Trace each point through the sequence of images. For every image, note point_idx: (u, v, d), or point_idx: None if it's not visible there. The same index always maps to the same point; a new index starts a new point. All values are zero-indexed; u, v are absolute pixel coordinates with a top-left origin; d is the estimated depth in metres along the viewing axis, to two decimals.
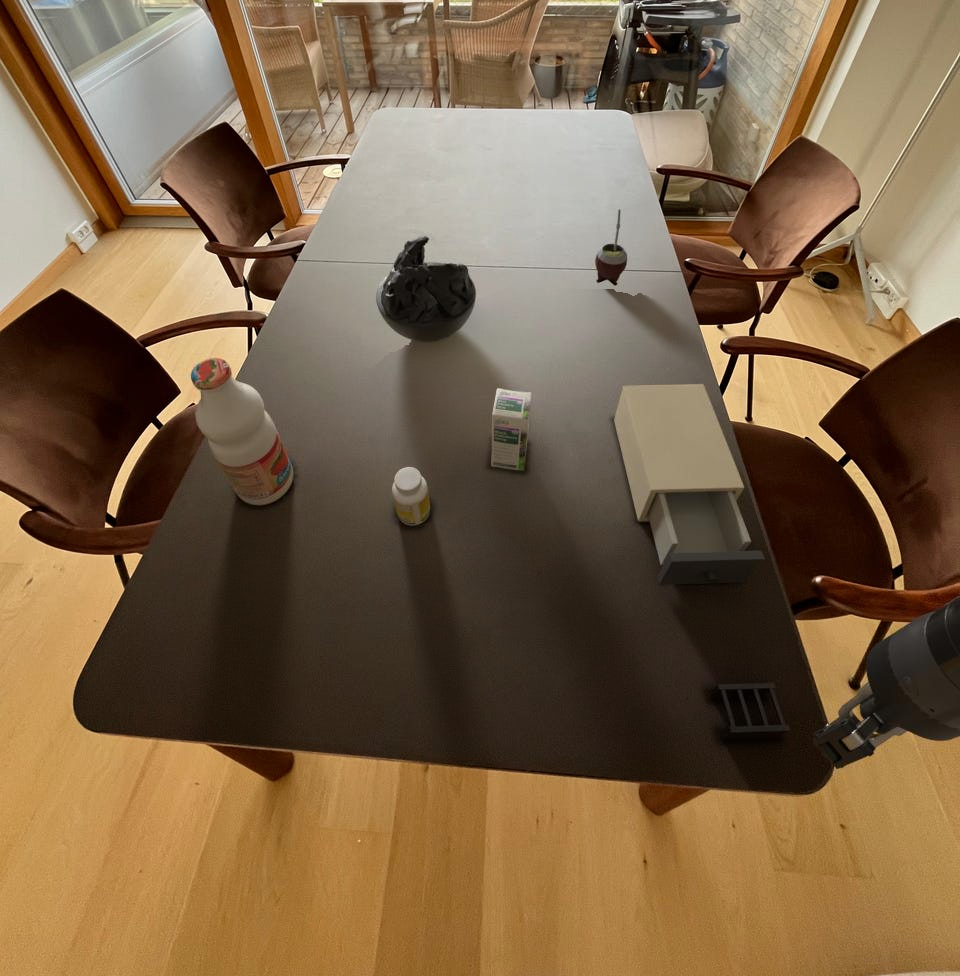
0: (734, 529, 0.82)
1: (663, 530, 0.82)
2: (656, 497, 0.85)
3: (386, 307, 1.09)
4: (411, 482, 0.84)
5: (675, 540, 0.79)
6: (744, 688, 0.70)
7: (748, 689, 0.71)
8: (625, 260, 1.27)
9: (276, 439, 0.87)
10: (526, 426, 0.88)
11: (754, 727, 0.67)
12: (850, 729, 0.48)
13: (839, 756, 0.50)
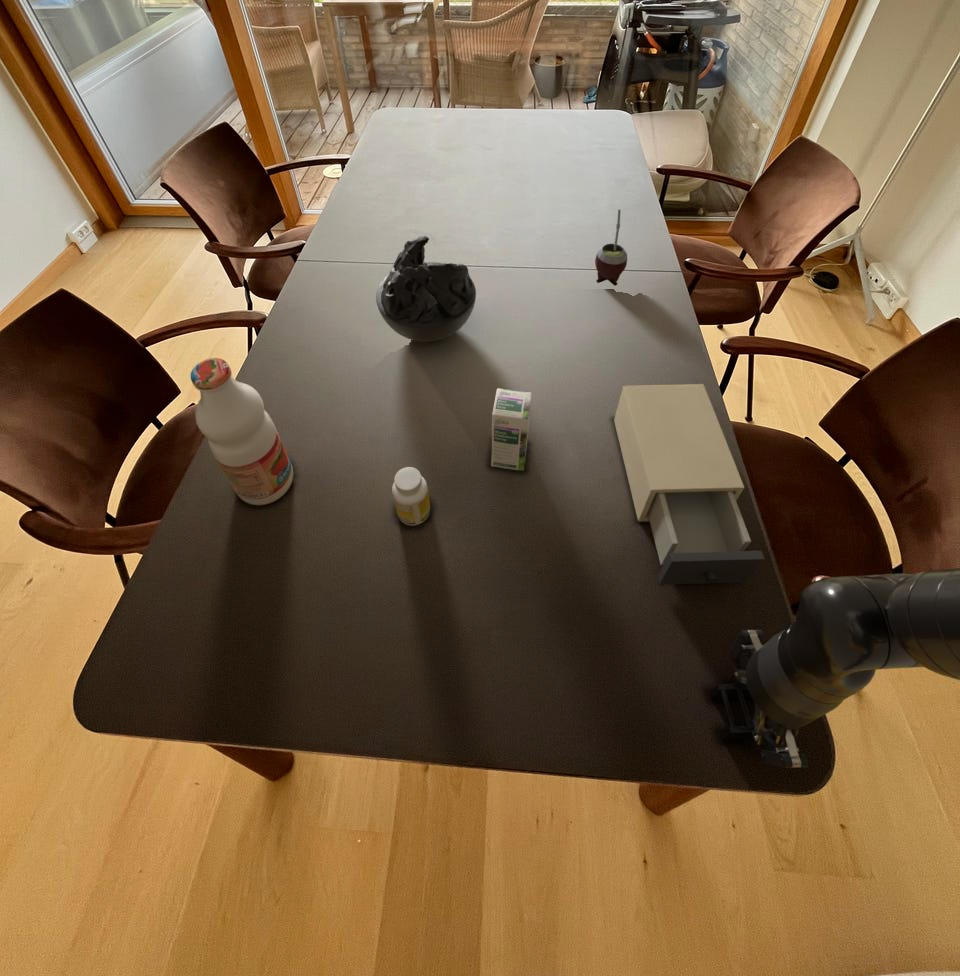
0: (734, 529, 0.82)
1: (663, 530, 0.82)
2: (656, 497, 0.85)
3: (386, 307, 1.09)
4: (411, 482, 0.84)
5: (675, 540, 0.79)
6: (744, 688, 0.70)
7: None
8: (625, 260, 1.27)
9: (276, 439, 0.87)
10: (526, 426, 0.88)
11: (754, 727, 0.67)
12: (790, 764, 0.60)
13: None
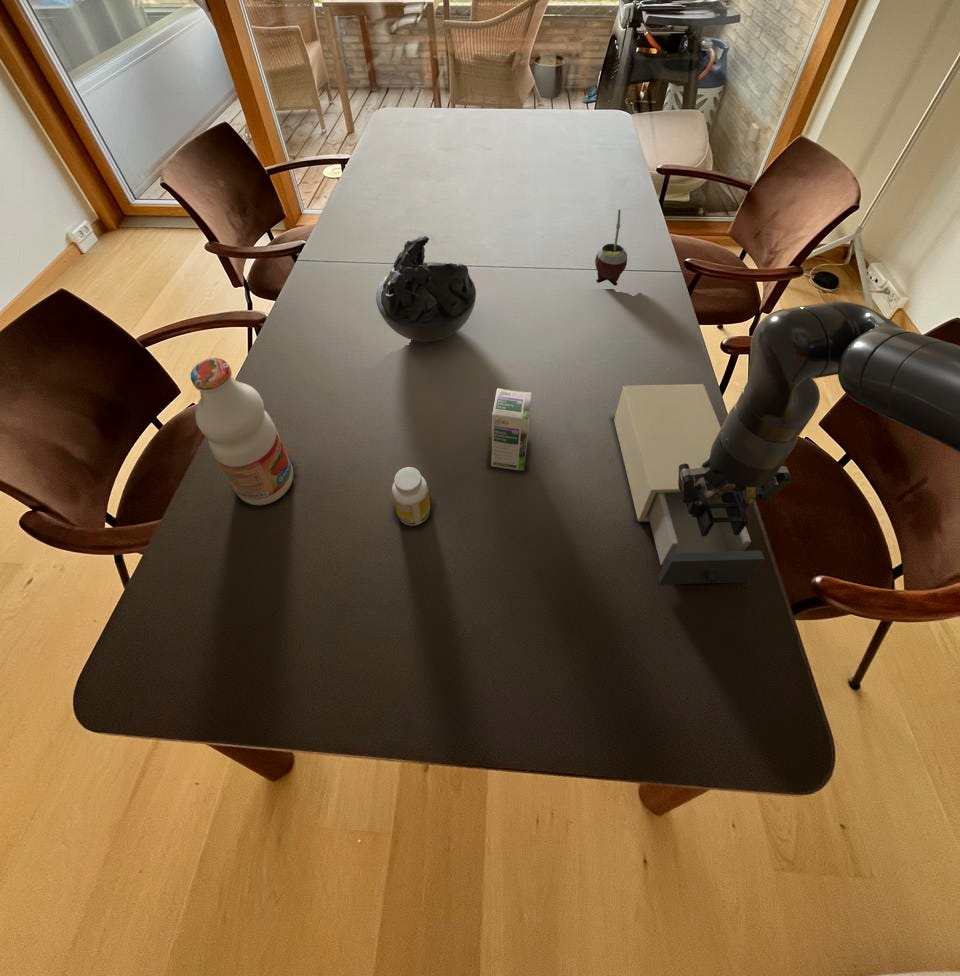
0: None
1: (663, 530, 0.82)
2: (656, 497, 0.85)
3: (386, 307, 1.09)
4: (411, 482, 0.84)
5: (675, 540, 0.79)
6: None
7: None
8: (625, 260, 1.27)
9: (276, 439, 0.87)
10: (526, 426, 0.88)
11: (737, 501, 0.75)
12: None
13: None
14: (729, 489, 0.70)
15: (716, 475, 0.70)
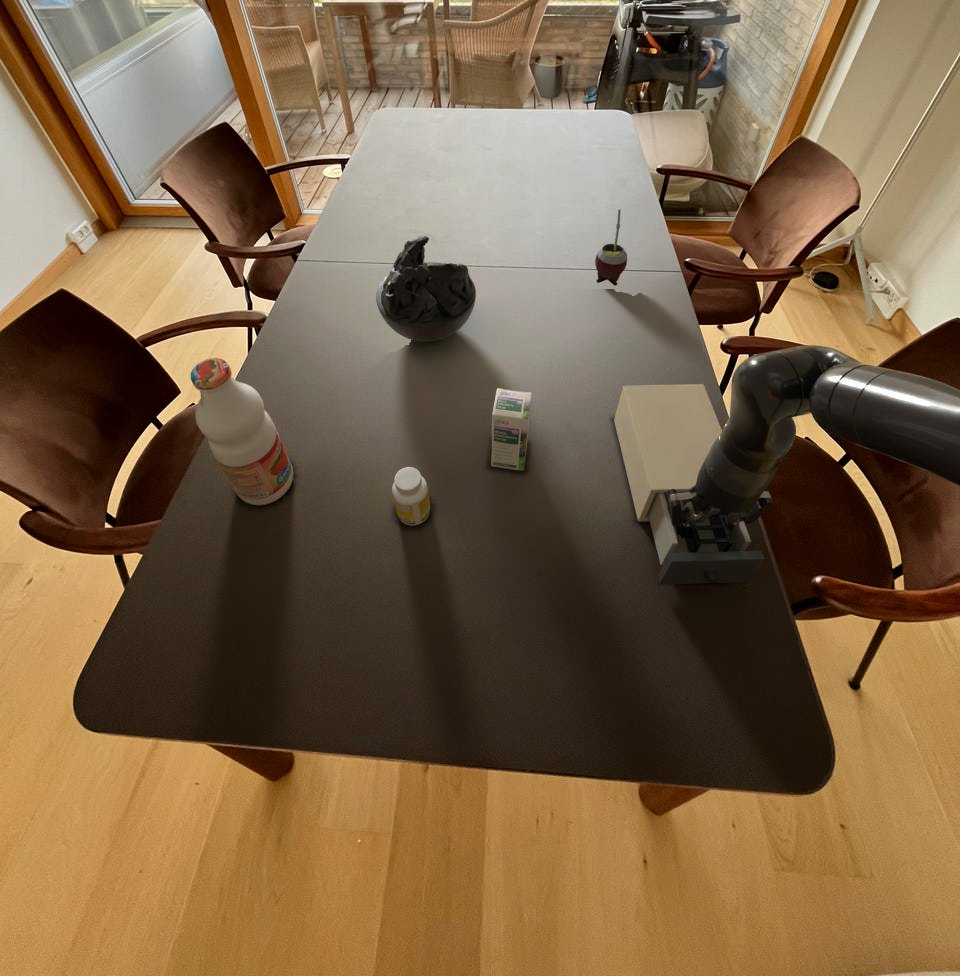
0: (734, 529, 0.82)
1: (663, 530, 0.82)
2: (656, 497, 0.85)
3: (386, 307, 1.09)
4: (411, 482, 0.84)
5: (675, 540, 0.79)
6: None
7: None
8: (625, 260, 1.27)
9: (276, 439, 0.87)
10: (526, 426, 0.88)
11: (723, 523, 0.80)
12: (771, 499, 0.75)
13: None
14: (714, 513, 0.75)
15: (702, 500, 0.74)
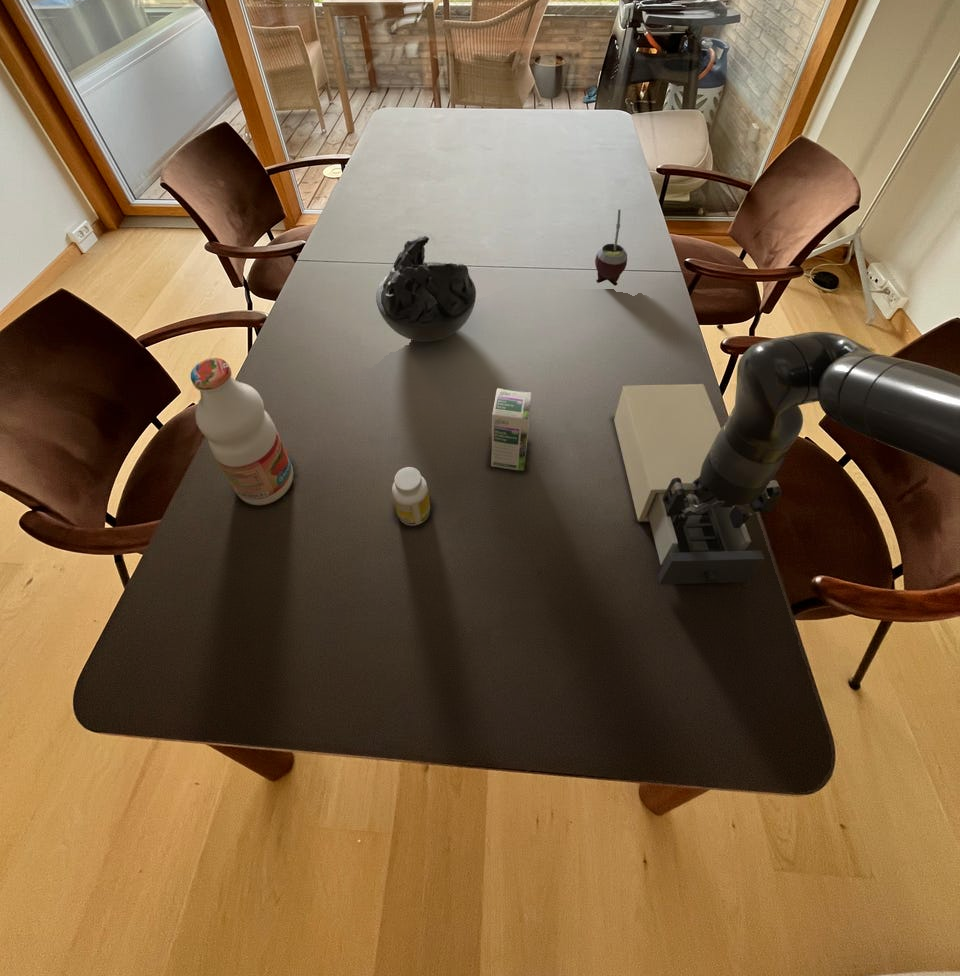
0: (734, 529, 0.82)
1: (663, 530, 0.82)
2: (656, 497, 0.85)
3: (386, 307, 1.09)
4: (411, 482, 0.84)
5: (675, 540, 0.79)
6: (688, 533, 0.82)
7: None
8: (625, 260, 1.27)
9: (276, 439, 0.87)
10: (526, 426, 0.88)
11: (716, 534, 0.82)
12: (779, 488, 0.73)
13: (761, 497, 0.77)
14: (719, 506, 0.73)
15: (707, 492, 0.73)
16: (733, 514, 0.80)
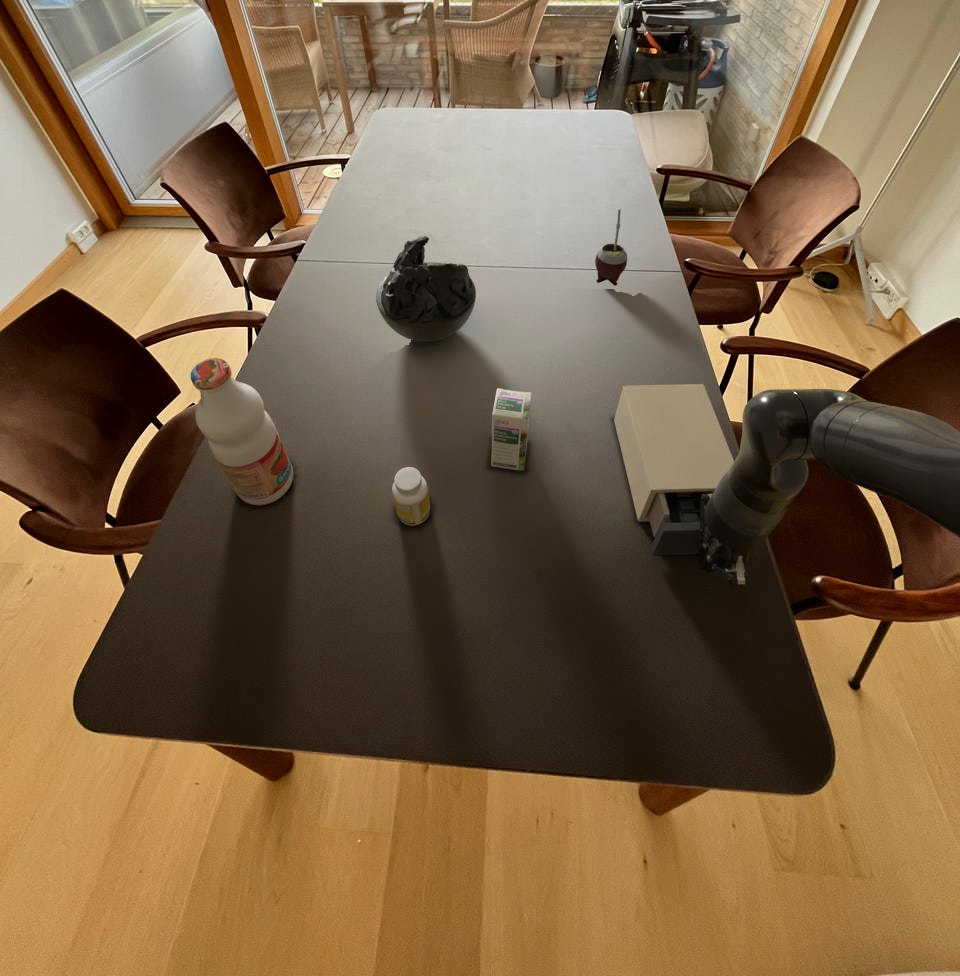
0: None
1: (656, 503, 0.85)
2: None
3: (386, 307, 1.09)
4: (411, 482, 0.84)
5: (667, 511, 0.82)
6: (679, 506, 0.85)
7: None
8: (625, 260, 1.27)
9: (276, 439, 0.87)
10: (526, 426, 0.88)
11: None
12: (735, 583, 0.70)
13: None
14: None
15: None
16: None
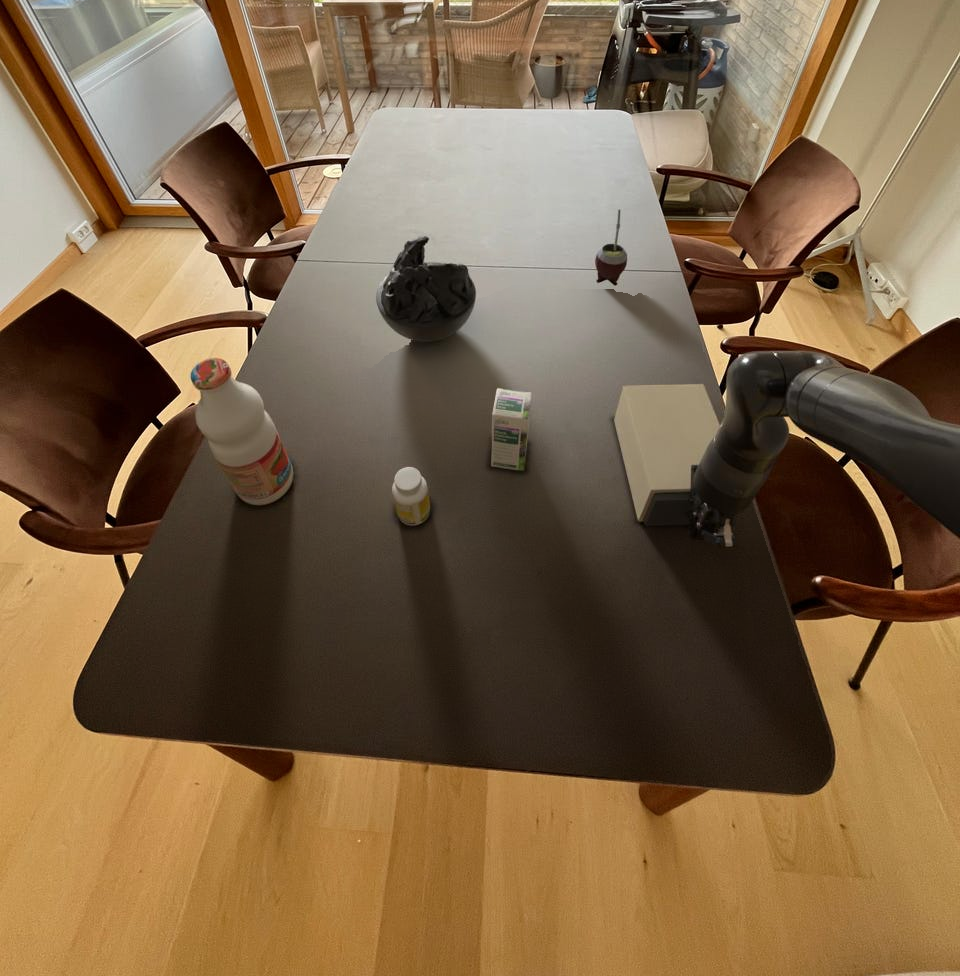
0: None
1: None
2: None
3: (386, 307, 1.09)
4: (411, 482, 0.84)
5: None
6: None
7: None
8: (625, 260, 1.27)
9: (276, 439, 0.87)
10: (526, 426, 0.88)
11: None
12: (723, 545, 0.73)
13: None
14: (697, 493, 0.78)
15: None
16: None
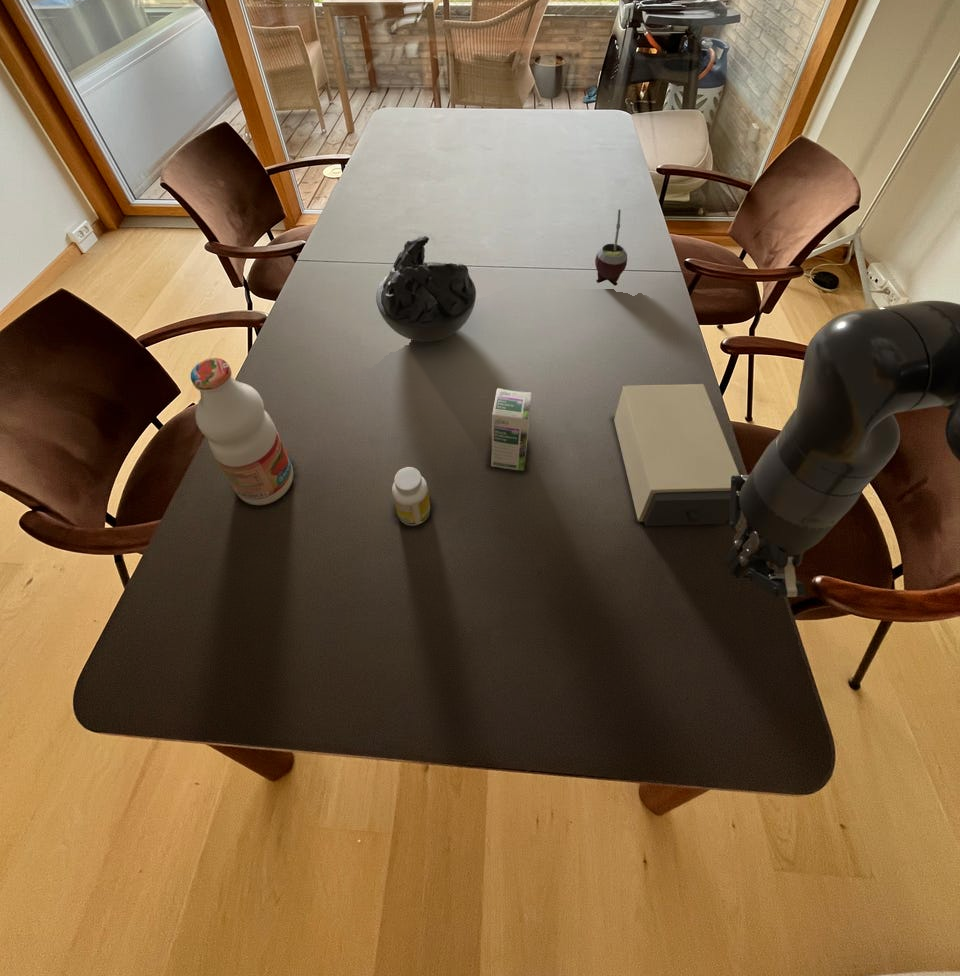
0: None
1: None
2: None
3: (386, 307, 1.09)
4: (411, 482, 0.84)
5: None
6: None
7: None
8: (625, 260, 1.27)
9: (276, 439, 0.87)
10: (526, 426, 0.88)
11: None
12: (784, 595, 0.51)
13: None
14: (743, 517, 0.56)
15: None
16: None
